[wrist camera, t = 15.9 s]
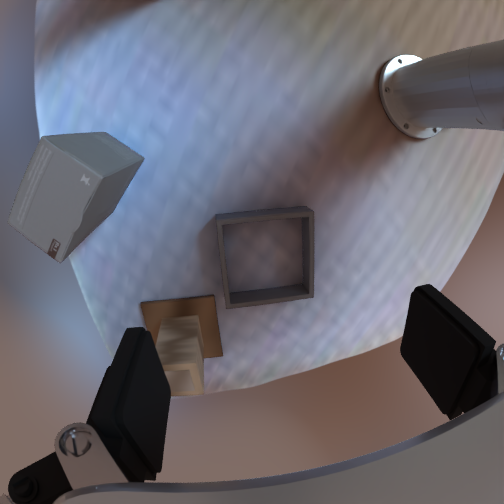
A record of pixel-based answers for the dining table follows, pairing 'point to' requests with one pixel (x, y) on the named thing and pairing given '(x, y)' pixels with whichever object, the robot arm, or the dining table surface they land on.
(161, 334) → the beech block
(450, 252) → the dining table surface
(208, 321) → the walnut board
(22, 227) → the skincare box
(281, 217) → the bin
